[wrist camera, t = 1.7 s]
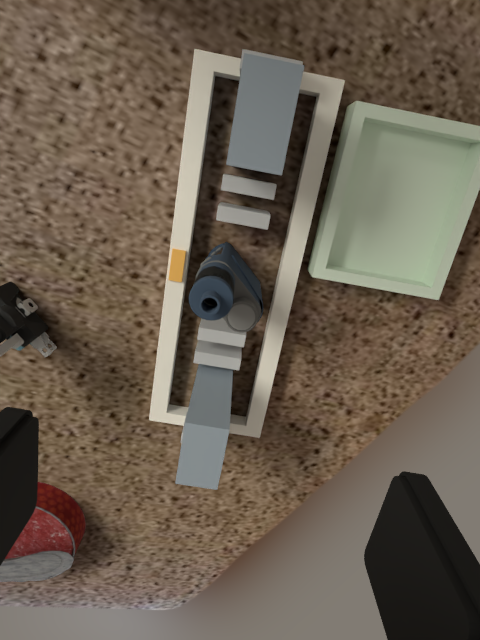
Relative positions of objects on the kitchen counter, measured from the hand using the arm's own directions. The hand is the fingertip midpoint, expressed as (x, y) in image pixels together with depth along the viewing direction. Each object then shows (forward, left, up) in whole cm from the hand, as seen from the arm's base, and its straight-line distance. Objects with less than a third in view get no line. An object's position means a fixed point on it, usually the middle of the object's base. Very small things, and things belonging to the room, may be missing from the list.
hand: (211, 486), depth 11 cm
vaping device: (0, 0, -23) cm, 23 cm away
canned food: (+29, -15, -23) cm, 40 cm away
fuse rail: (0, 0, -23) cm, 23 cm away
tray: (-7, +10, -23) cm, 26 cm away
